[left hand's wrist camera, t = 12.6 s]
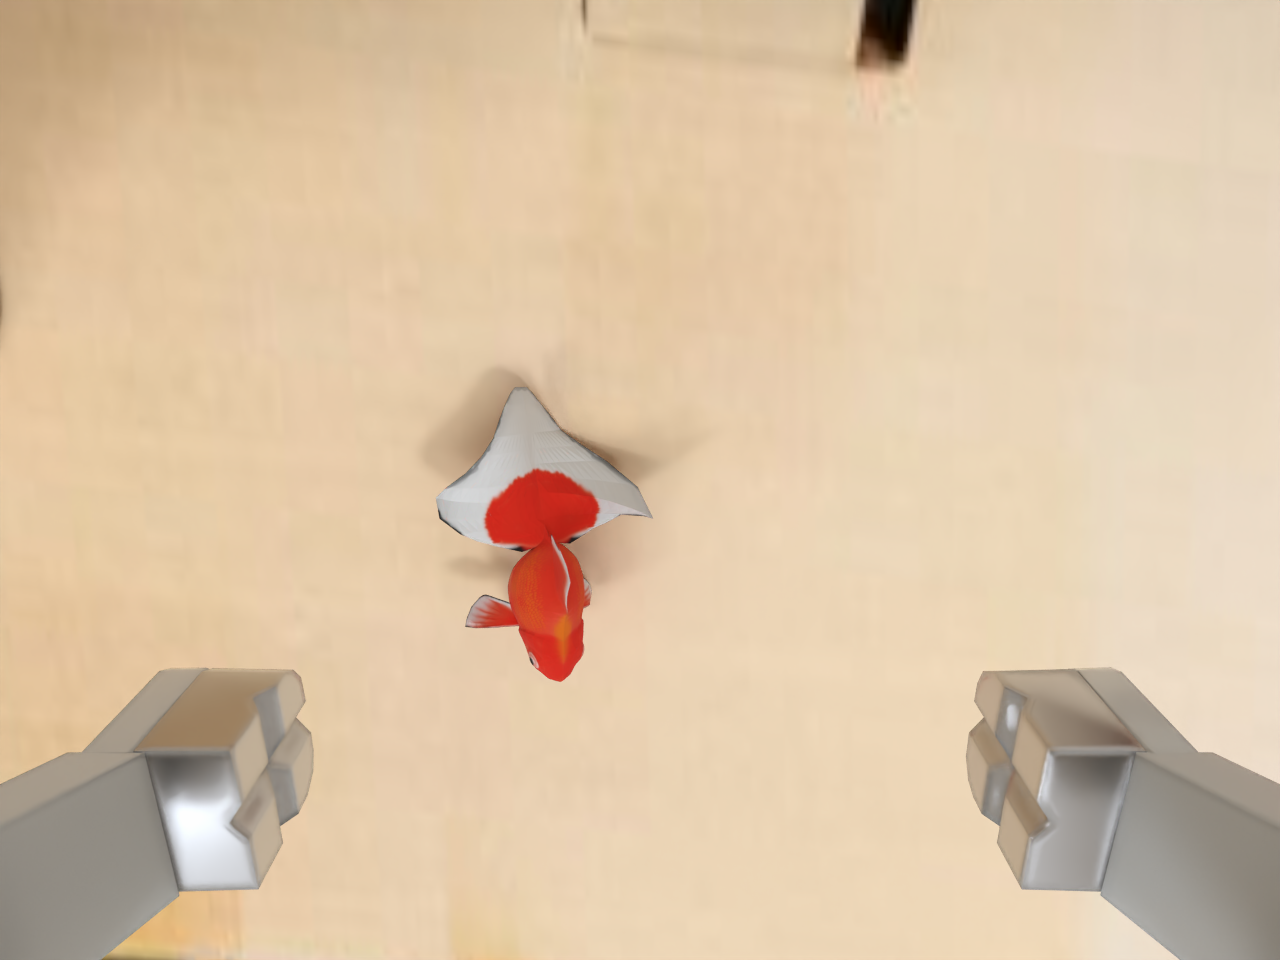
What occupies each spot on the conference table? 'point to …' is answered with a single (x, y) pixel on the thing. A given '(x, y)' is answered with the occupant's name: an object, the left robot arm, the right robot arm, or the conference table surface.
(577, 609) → the fish
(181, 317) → the conference table surface
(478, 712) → the conference table surface
